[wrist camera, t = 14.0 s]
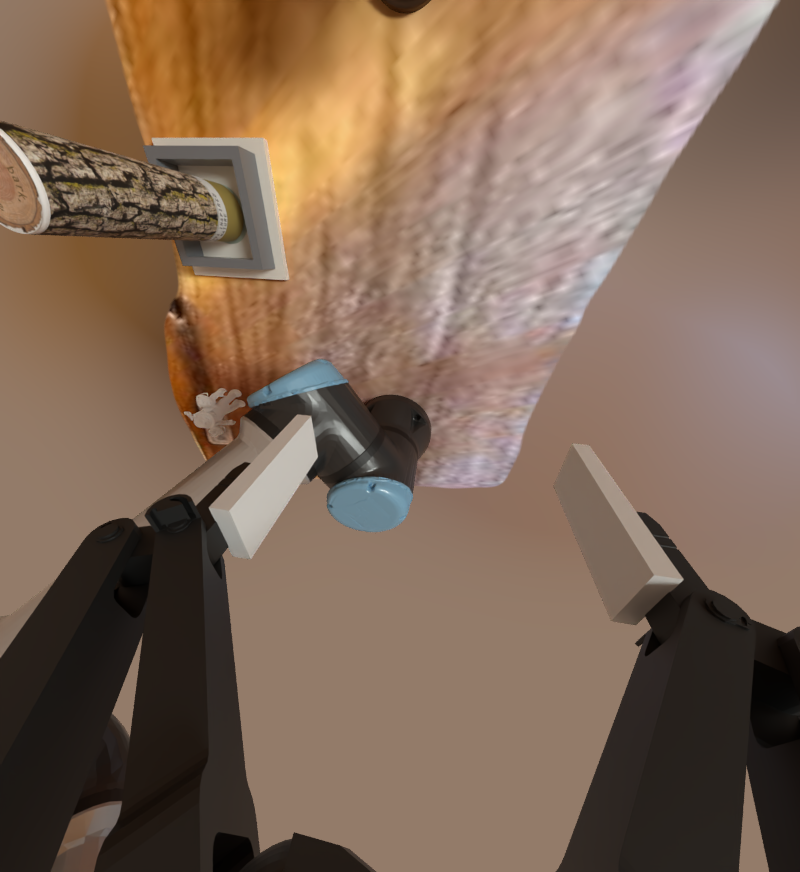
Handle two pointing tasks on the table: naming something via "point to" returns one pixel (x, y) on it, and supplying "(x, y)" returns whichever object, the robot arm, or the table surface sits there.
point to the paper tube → (105, 193)
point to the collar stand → (254, 190)
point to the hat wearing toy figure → (216, 410)
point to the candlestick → (405, 5)
